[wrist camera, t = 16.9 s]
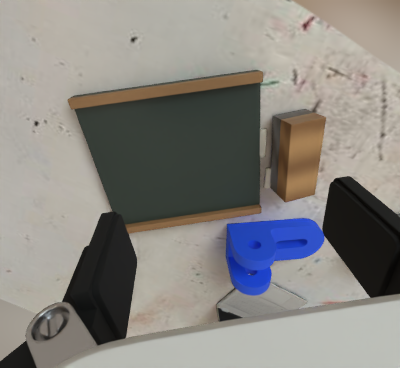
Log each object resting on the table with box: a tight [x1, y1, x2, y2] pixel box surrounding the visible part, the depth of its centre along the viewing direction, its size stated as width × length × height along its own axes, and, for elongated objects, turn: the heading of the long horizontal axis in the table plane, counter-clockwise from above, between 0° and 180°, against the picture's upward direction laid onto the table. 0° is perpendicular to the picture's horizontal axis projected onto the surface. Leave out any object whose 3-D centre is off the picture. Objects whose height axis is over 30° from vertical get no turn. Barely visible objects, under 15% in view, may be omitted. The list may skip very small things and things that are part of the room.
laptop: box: [216, 283, 308, 322], centre depth 53 cm, size 18×12×13 cm
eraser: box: [270, 109, 326, 202], centre depth 37 cm, size 12×5×4 cm, turn 6°
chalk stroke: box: [260, 128, 267, 157], centre depth 38 cm, size 4×1×1 cm, turn 5°
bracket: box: [226, 218, 324, 296], centre depth 45 cm, size 18×8×9 cm, turn 91°
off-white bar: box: [263, 168, 271, 189], centre depth 41 cm, size 4×1×1 cm, turn 0°
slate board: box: [68, 70, 263, 233], centre depth 38 cm, size 22×24×2 cm
